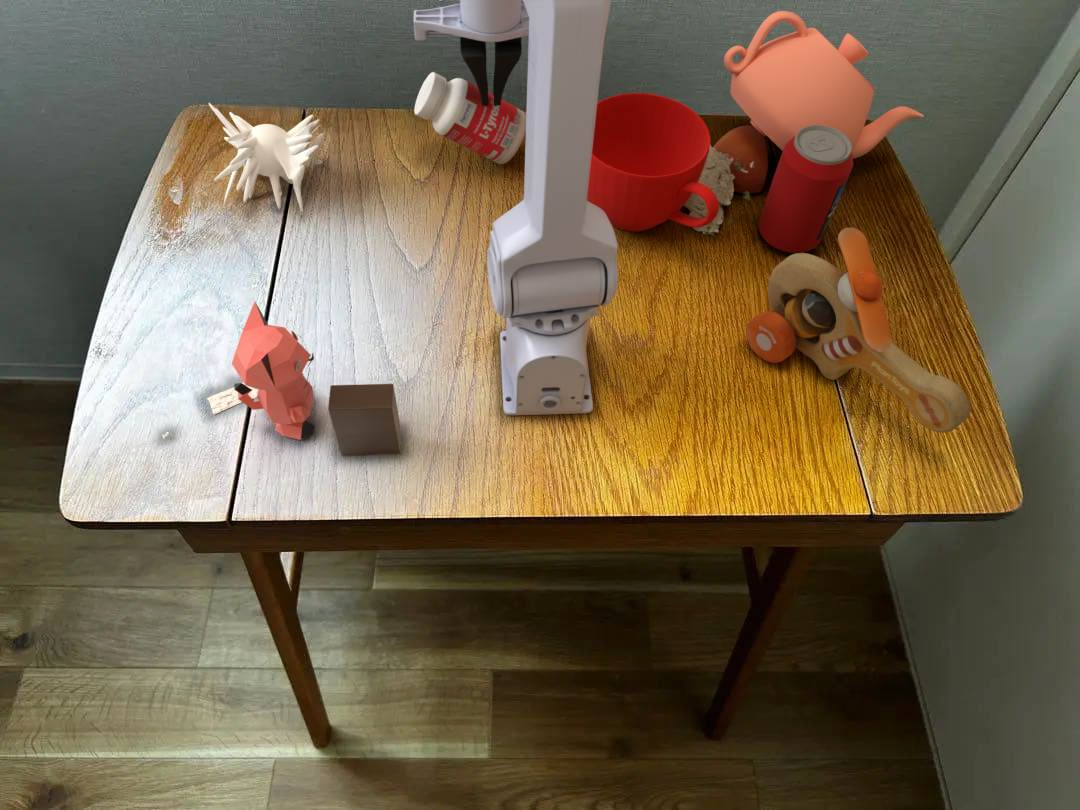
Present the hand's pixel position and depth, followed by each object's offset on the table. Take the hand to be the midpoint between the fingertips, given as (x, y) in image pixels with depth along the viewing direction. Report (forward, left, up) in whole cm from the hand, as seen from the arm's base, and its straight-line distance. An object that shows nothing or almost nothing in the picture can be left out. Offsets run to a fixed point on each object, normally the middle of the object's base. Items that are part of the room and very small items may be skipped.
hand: (491, 99), depth 88 cm
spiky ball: (-4, +24, -8) cm, 25 cm away
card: (-33, +26, -8) cm, 42 cm away
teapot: (-1, -31, -5) cm, 32 cm away
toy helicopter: (-31, -31, -8) cm, 44 cm away
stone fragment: (-7, -23, -3) cm, 24 cm away
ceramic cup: (-10, -16, -8) cm, 20 cm away
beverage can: (-12, -31, -8) cm, 34 cm away
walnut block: (-37, +11, -8) cm, 39 cm away
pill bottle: (+1, -3, -6) cm, 6 cm away
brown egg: (-2, -26, -4) cm, 26 cm away
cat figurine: (-34, +19, -8) cm, 39 cm away
